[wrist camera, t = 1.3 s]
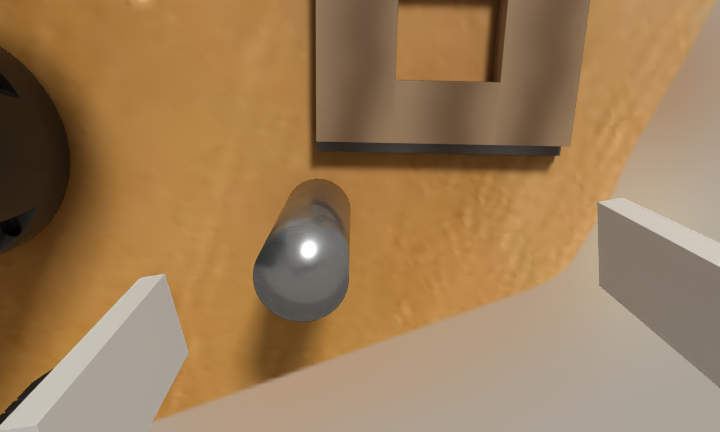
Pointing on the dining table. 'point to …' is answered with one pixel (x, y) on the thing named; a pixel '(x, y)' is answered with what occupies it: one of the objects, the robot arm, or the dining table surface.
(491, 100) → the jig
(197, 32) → the dining table surface
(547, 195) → the dining table surface
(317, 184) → the steel cylinder rod
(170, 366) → the robot arm
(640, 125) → the dining table surface
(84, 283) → the dining table surface
